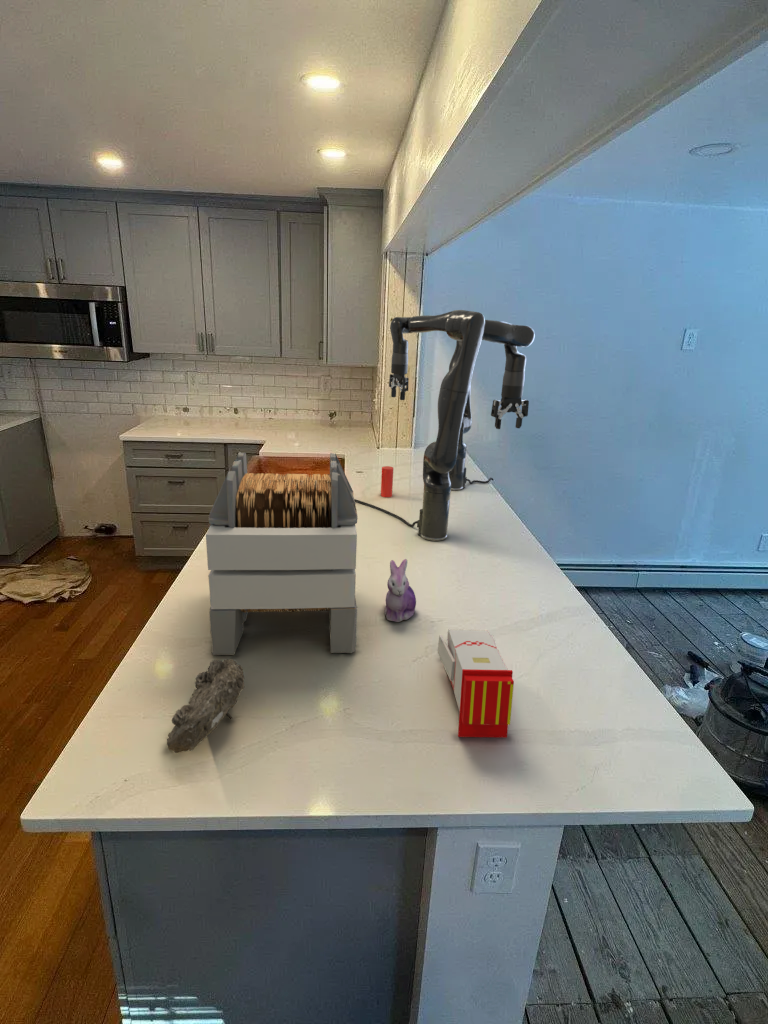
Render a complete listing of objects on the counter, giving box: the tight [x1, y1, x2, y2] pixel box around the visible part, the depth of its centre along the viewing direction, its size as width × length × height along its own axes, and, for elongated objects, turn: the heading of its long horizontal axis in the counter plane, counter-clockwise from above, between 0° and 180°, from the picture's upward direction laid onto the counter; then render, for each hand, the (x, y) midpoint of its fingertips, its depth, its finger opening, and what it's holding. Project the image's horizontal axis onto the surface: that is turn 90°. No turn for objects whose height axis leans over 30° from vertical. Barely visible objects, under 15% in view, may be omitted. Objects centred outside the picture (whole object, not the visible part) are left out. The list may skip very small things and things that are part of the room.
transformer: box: [205, 451, 358, 657], centre depth 136 cm, size 34×33×41 cm
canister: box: [380, 465, 394, 498], centre depth 238 cm, size 5×5×12 cm
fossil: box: [166, 658, 245, 754], centre depth 106 cm, size 22×10×15 cm
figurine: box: [384, 558, 417, 623], centre depth 145 cm, size 9×10×15 cm
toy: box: [437, 628, 515, 738], centre depth 117 cm, size 12×13×30 cm
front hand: (507, 428), depth 209 cm, fingers open, 8 cm apart
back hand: (397, 398), depth 265 cm, fingers open, 8 cm apart
